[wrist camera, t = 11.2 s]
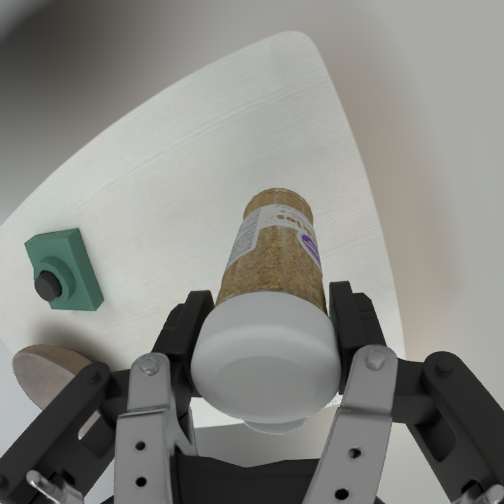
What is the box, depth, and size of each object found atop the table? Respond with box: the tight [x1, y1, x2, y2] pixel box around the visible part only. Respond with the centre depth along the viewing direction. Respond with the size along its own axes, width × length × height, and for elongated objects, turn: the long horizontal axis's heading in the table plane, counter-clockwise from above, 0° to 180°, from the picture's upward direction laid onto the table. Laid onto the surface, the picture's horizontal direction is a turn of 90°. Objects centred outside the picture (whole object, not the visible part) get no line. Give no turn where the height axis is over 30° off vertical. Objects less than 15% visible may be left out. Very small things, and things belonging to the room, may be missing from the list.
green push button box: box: [24, 229, 104, 311], centre depth 40 cm, size 12×10×5 cm
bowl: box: [12, 345, 100, 437], centre depth 49 cm, size 26×26×10 cm
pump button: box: [34, 271, 62, 302], centre depth 37 cm, size 4×4×2 cm
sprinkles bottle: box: [191, 188, 342, 424], centre depth 14 cm, size 5×5×14 cm
